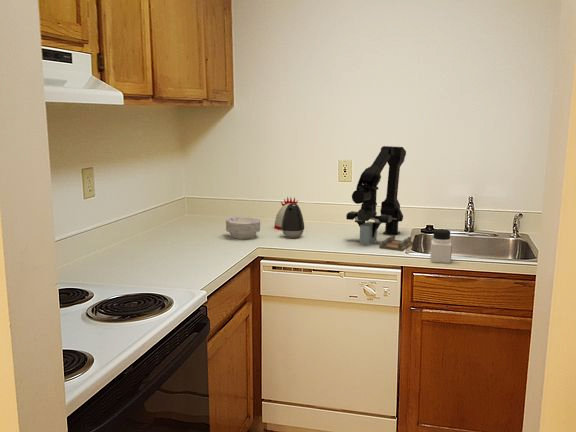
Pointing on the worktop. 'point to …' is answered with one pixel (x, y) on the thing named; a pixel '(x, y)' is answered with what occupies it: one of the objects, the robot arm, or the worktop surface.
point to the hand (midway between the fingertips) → (368, 236)
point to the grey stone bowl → (243, 227)
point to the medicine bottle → (441, 246)
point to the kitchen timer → (282, 213)
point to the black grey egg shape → (292, 221)
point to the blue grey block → (367, 233)
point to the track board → (396, 243)
